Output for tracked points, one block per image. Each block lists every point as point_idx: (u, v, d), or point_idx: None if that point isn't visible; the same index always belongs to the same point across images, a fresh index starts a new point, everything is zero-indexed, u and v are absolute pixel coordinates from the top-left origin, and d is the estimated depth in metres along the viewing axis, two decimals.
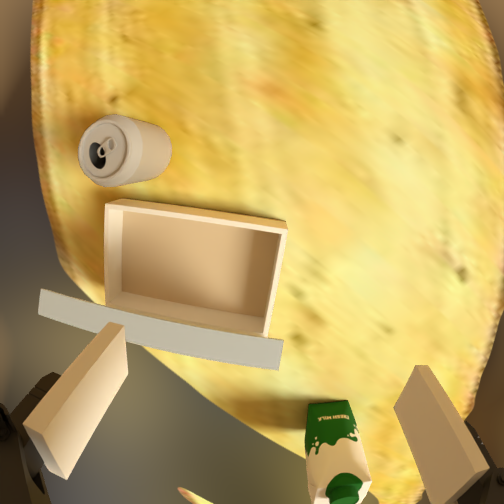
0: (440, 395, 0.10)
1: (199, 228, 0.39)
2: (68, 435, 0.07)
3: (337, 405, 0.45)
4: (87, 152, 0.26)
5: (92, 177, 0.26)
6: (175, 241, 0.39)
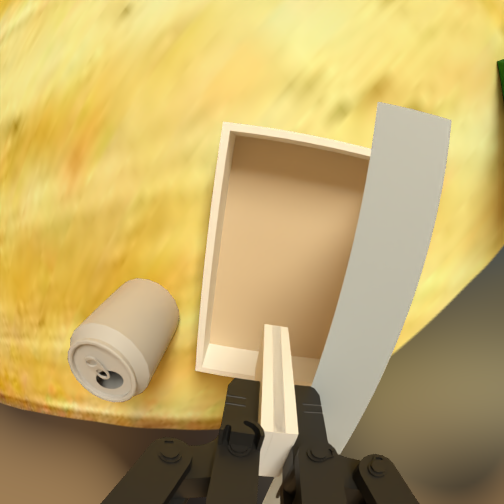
0: (281, 353, 0.12)
1: (240, 248, 0.28)
2: None
3: None
4: (108, 390, 0.21)
5: (131, 391, 0.20)
6: (258, 281, 0.29)
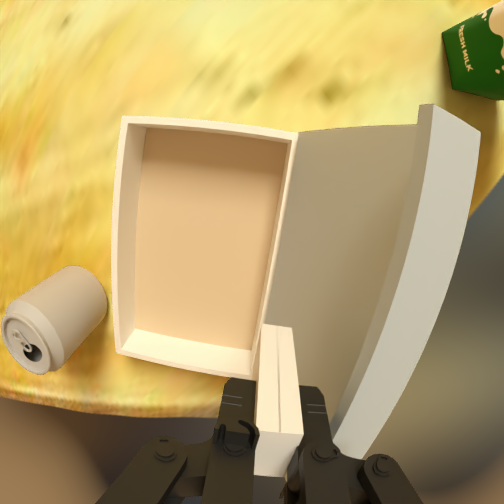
0: (285, 353, 0.12)
1: (153, 235, 0.28)
2: None
3: (449, 44, 0.20)
4: (33, 362, 0.21)
5: (47, 363, 0.20)
6: (172, 267, 0.29)
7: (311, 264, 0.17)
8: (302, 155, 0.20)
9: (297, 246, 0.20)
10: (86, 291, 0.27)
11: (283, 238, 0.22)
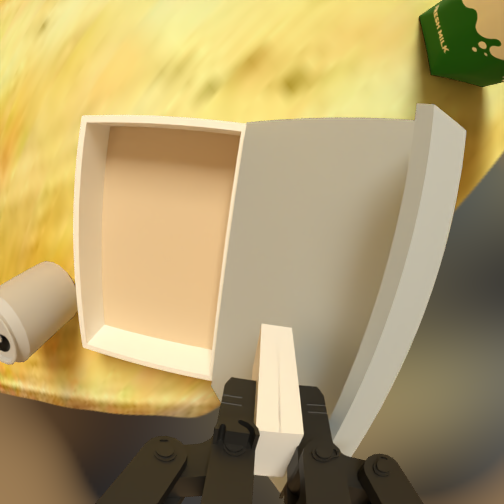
0: (285, 353, 0.12)
1: (117, 231, 0.27)
2: None
3: (426, 27, 0.19)
4: (3, 353, 0.20)
5: (14, 353, 0.20)
6: (135, 264, 0.28)
7: (272, 261, 0.17)
8: (252, 146, 0.19)
9: (251, 241, 0.19)
10: (56, 286, 0.26)
11: (233, 233, 0.21)
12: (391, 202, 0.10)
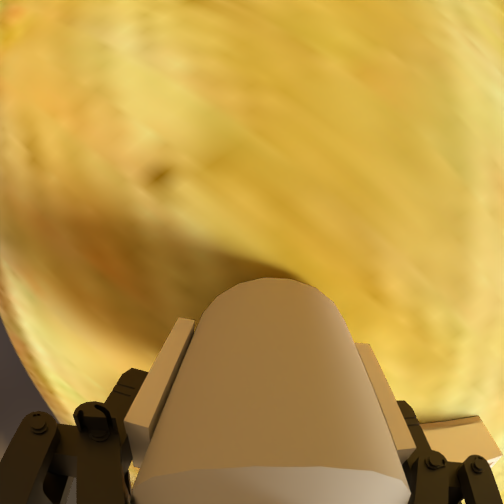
0: (374, 371, 0.11)
1: None
2: None
3: None
4: None
5: None
6: None
7: None
8: None
9: None
10: None
11: None
12: None
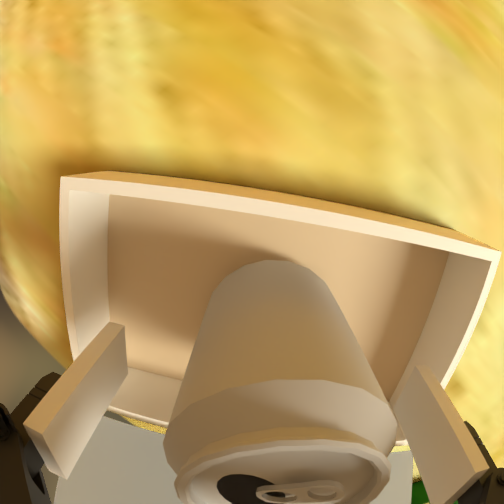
0: (440, 395, 0.10)
1: (294, 241, 0.17)
2: (68, 435, 0.07)
3: None
4: (210, 486, 0.07)
5: None
6: (234, 269, 0.17)
7: None
8: (391, 472, 0.14)
9: None
10: None
11: None
12: None
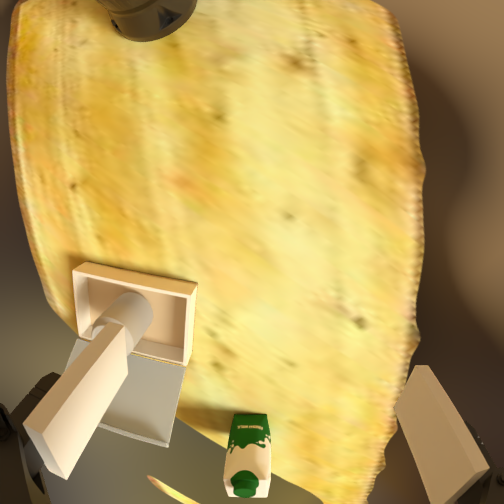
0: (440, 395, 0.10)
1: None
2: (68, 435, 0.07)
3: (256, 418, 0.58)
4: None
5: None
6: None
7: (135, 386, 0.46)
8: (174, 372, 0.48)
9: (140, 374, 0.47)
10: None
11: (143, 360, 0.49)
12: (152, 430, 0.41)
